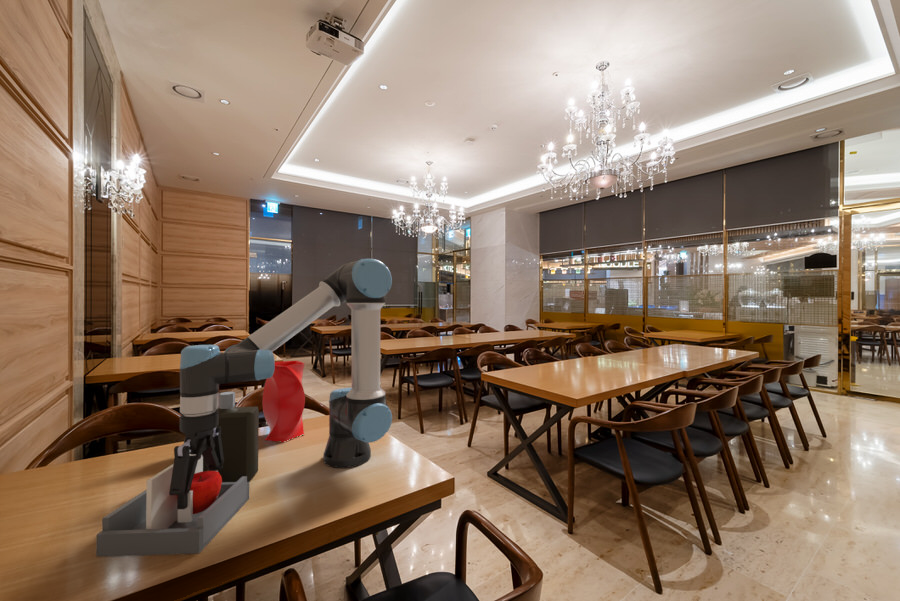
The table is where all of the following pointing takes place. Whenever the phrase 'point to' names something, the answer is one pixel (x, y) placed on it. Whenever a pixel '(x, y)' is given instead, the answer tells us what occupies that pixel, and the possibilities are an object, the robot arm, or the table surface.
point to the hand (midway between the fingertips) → (198, 508)
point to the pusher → (163, 499)
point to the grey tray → (132, 538)
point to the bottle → (237, 439)
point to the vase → (284, 401)
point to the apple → (205, 489)
